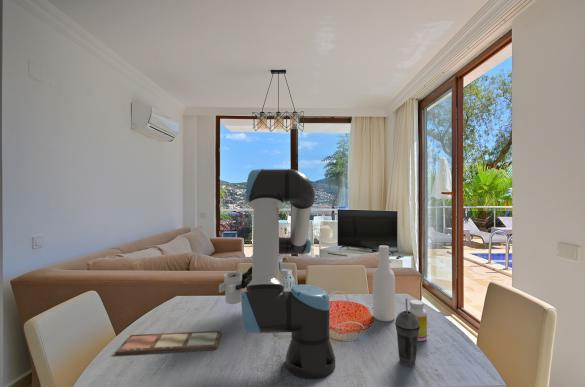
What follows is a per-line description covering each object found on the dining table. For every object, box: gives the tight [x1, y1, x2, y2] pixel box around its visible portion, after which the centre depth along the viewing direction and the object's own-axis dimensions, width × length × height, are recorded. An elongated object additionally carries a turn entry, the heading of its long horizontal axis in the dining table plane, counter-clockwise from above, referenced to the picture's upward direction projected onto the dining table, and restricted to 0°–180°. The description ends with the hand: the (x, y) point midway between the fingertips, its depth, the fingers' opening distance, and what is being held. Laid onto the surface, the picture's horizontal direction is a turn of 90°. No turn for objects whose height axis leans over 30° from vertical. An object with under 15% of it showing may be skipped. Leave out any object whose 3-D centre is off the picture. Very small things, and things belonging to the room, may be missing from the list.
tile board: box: [115, 330, 222, 356], centre depth 108 cm, size 12×32×1 cm, turn 96°
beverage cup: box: [394, 298, 420, 367], centre depth 96 cm, size 7×7×20 cm
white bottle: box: [372, 244, 396, 323], centre depth 129 cm, size 9×9×30 cm
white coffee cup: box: [223, 271, 243, 305], centre depth 115 cm, size 7×7×10 cm
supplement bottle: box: [408, 299, 428, 342], centre depth 112 cm, size 7×7×13 cm
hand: (224, 289), depth 110 cm, fingers closed on white coffee cup, 3 cm apart
